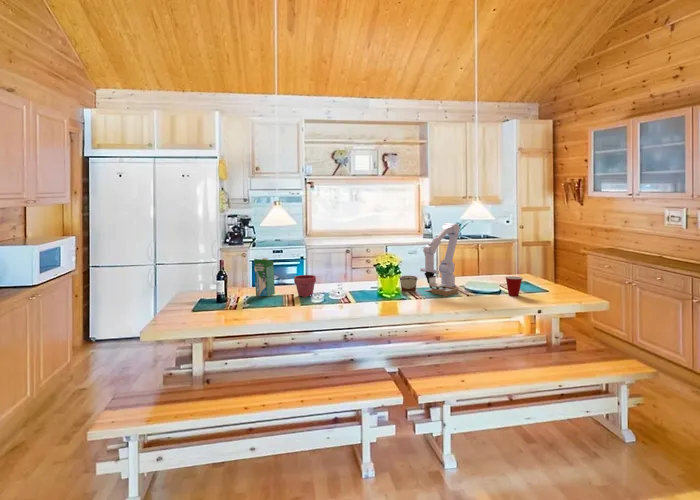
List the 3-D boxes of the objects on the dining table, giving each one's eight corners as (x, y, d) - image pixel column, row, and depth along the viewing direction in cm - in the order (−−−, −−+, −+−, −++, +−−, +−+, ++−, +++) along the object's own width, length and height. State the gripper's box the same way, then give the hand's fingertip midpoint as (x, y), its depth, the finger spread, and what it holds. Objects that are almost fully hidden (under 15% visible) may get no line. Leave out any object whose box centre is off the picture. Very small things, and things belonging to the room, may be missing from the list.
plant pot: (304, 292, 327) (303, 273, 325) (320, 294, 319) (320, 275, 317) (290, 296, 315) (289, 277, 314) (306, 299, 307) (306, 279, 305)
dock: (433, 289, 330) (433, 283, 330) (457, 293, 315) (457, 288, 314) (421, 291, 323) (421, 286, 322) (446, 296, 307) (446, 291, 307)
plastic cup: (522, 293, 308) (523, 275, 306) (522, 297, 298) (523, 278, 296) (504, 293, 312) (505, 274, 310) (504, 296, 301) (504, 278, 300)
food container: (417, 290, 326) (417, 275, 325) (417, 292, 320) (417, 277, 319) (399, 290, 327) (399, 275, 326) (399, 292, 321) (399, 277, 320)
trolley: (435, 286, 326) (435, 275, 325) (445, 288, 319) (445, 277, 318) (428, 287, 321) (428, 276, 320) (438, 289, 314) (438, 278, 313)
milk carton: (274, 294, 324) (273, 257, 320) (267, 297, 316) (265, 259, 312) (263, 293, 327) (262, 256, 324) (255, 295, 319) (254, 258, 316)
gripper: (417, 262, 326) (417, 282, 327) (433, 265, 315) (433, 285, 316) (424, 261, 330) (424, 280, 332) (440, 263, 319) (440, 283, 321)
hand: (429, 283), depth 324 cm, fingers closed
